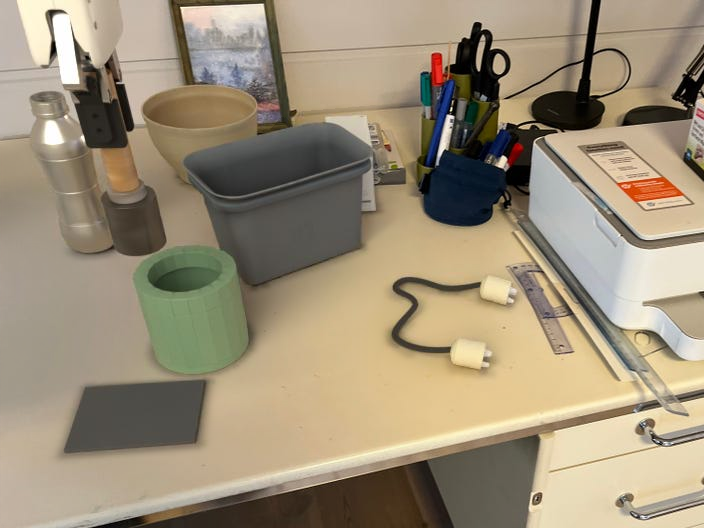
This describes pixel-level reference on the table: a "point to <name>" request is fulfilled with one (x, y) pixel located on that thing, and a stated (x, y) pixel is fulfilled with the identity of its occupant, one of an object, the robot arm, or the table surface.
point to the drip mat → (136, 416)
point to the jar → (192, 308)
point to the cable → (462, 349)
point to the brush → (129, 200)
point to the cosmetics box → (361, 130)
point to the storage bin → (283, 197)
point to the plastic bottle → (69, 173)
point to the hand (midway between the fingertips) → (111, 136)
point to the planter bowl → (198, 120)
